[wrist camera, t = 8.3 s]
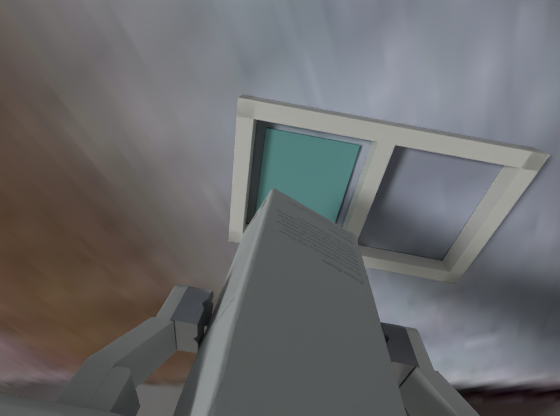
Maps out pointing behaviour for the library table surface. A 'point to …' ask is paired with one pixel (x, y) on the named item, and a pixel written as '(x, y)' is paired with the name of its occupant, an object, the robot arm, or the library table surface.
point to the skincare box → (293, 326)
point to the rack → (367, 176)
